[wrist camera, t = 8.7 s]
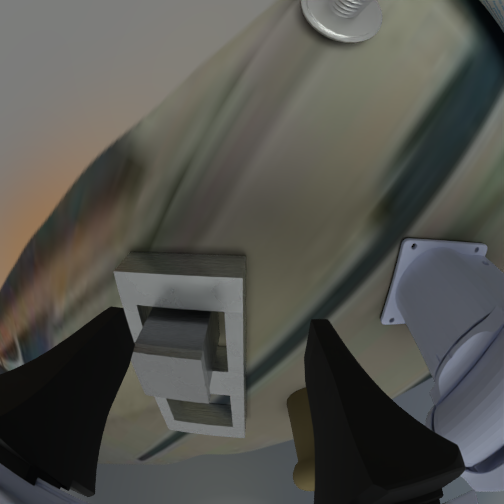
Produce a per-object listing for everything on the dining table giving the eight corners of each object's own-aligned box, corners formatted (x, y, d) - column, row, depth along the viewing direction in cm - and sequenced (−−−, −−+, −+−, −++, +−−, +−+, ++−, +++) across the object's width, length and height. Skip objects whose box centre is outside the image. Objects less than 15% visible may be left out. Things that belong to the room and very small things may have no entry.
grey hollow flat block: (245, 255, 21) (242, 278, 18) (246, 417, 30) (244, 437, 28) (130, 251, 21) (113, 271, 18) (174, 410, 31) (169, 429, 28)
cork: (308, 418, 30) (313, 497, 20) (275, 401, 29) (274, 490, 19) (349, 398, 28) (365, 482, 18) (319, 378, 26) (331, 475, 17)
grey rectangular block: (218, 291, 22) (200, 360, 16) (221, 336, 24) (209, 403, 18) (160, 288, 22) (127, 350, 16) (169, 332, 25) (145, 394, 18)
